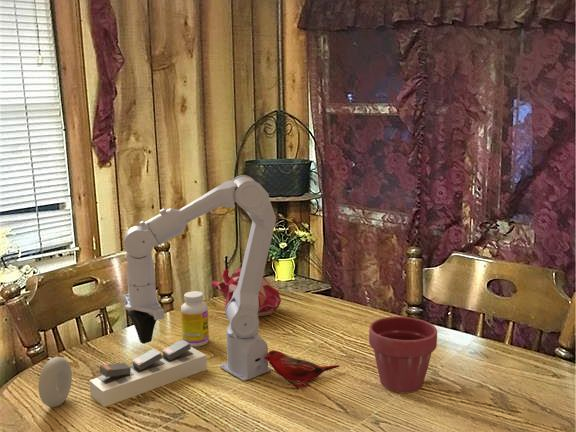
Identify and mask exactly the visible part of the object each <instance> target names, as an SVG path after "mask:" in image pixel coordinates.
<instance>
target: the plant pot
mask: <svg viewBox="0 0 576 432" xmlns="http://www.w3.org/2000/svg"><path fill="white" fill-rule="evenodd" d="M368 343H369V345H370V347H371V348H372V349H373V352H374V359H375V364H376V367H377V372H378V376H379V381H380V384H381V385H382V386H383V388H385V389H387V390H389V391H391V392H394V393H395V392H396V393H403V394H404V393H405V394H407V393H413V392H417V391H419V390H421V389H422V387H423V385H424V382H425V378H426V375H427V371H428V368H429V364H430V360H431V355H432V353H433V352H434V351H435V350H436V349H437V346H438V345H437V344H438V330H437V327H436V326H435V325H433V324H432V323H430V322H428V321H426V320H423V319H419V318H415V317H408V316H388V317H381V318H379V319H376V320H374V321H372V323H371V324H370V325H369V330H368Z"/></svg>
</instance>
